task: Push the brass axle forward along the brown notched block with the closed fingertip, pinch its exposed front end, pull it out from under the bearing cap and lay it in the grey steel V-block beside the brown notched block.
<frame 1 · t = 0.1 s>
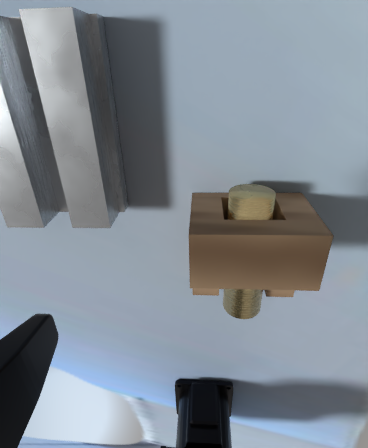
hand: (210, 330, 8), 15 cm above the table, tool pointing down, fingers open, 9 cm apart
axle: (243, 243, 23), point 1 cm above the table, touching brown notched block
v block: (60, 125, 20), on the table
brown notched block: (242, 238, 24), on the table
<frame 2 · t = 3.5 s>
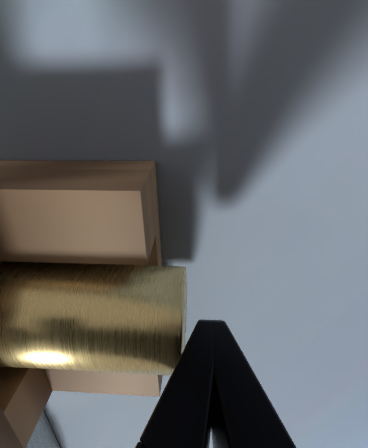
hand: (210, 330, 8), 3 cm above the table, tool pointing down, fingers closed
axle: (43, 279, 10), point 1 cm above the table, touching brown notched block, gripper
brown notched block: (55, 265, 11), on the table
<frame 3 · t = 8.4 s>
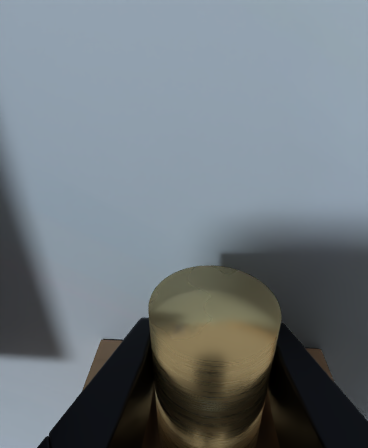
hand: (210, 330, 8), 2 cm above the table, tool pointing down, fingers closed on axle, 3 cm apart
axle: (208, 380, 10), point 1 cm above the table, touching brown notched block, gripper
brown notched block: (206, 406, 13), on the table
when the fingers open (5 cm above the table, at t = 13.6 s): axle drops 1 cm, resting on v block.
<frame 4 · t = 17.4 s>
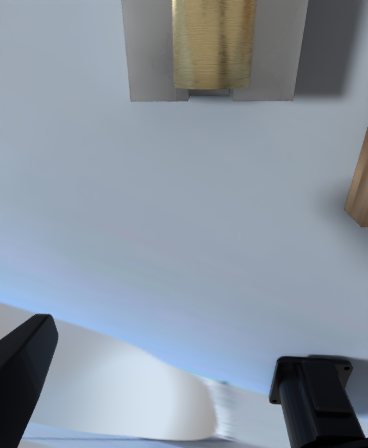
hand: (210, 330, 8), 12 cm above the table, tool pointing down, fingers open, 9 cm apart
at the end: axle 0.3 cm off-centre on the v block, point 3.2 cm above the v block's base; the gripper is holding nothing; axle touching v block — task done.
